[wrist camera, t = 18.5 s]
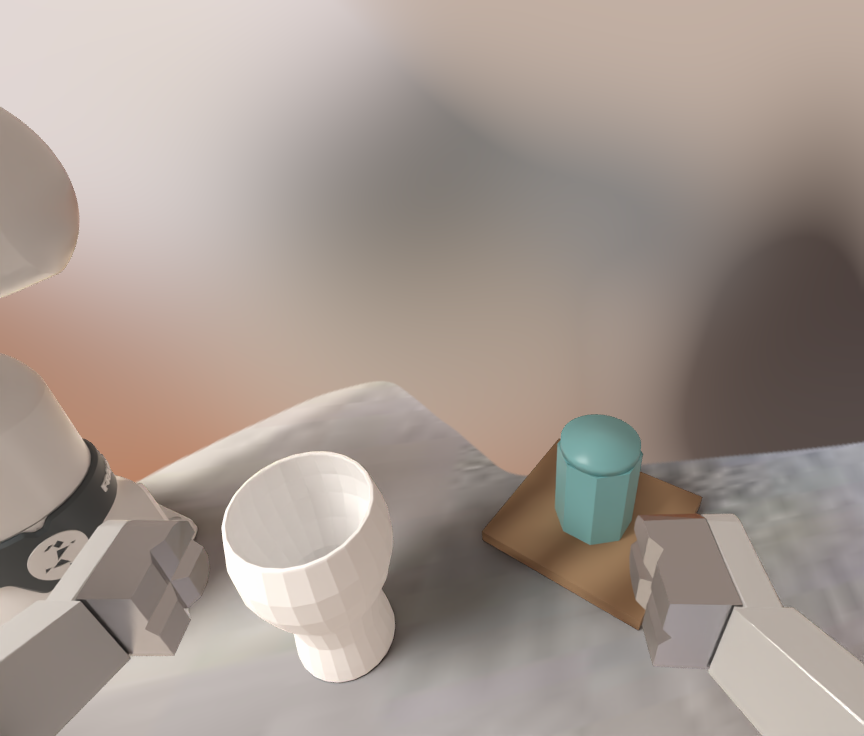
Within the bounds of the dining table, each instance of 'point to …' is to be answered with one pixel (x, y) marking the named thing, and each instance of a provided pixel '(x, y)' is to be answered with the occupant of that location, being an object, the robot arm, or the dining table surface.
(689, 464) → the dining table surface
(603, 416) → the teal octagonal jar
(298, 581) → the cup
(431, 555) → the dining table surface
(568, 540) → the square wooden board
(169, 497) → the dining table surface
